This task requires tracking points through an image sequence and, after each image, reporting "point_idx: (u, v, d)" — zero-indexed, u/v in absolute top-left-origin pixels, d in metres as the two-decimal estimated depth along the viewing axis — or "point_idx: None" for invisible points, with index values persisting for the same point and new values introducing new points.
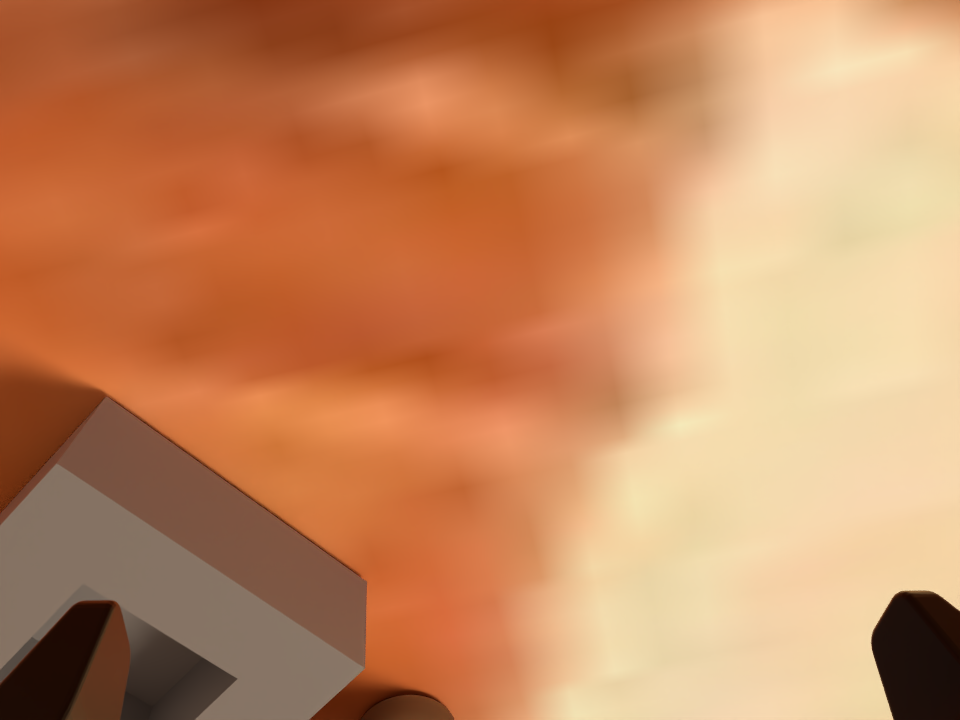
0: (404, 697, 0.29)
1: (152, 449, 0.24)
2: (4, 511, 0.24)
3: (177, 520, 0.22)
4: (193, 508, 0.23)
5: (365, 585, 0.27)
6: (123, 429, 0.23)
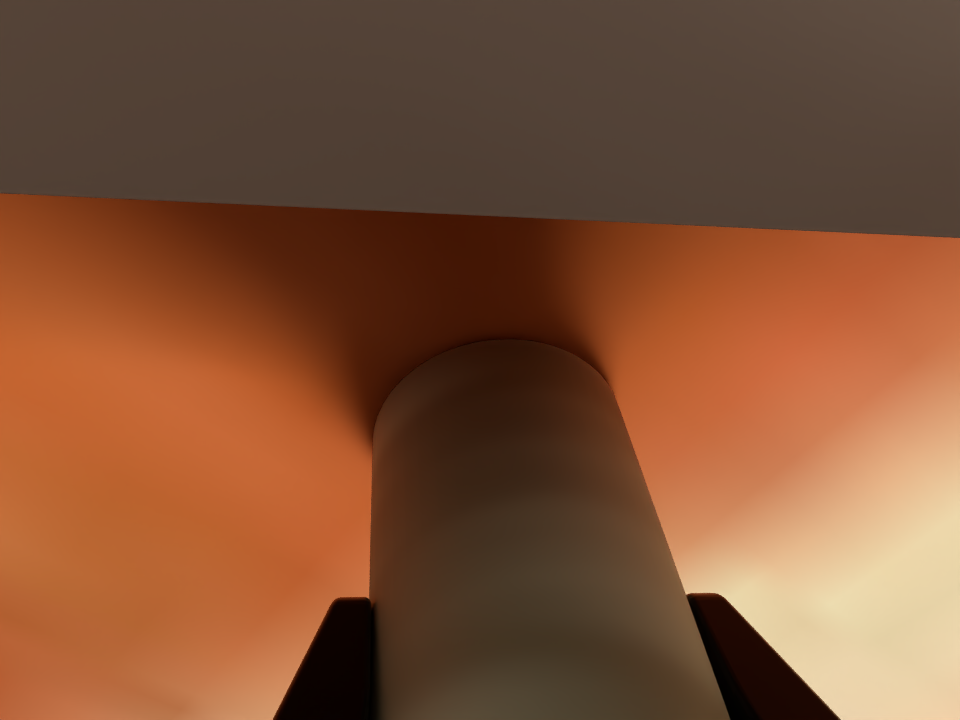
0: (592, 376, 0.11)
1: None
2: None
3: None
4: None
5: None
6: None
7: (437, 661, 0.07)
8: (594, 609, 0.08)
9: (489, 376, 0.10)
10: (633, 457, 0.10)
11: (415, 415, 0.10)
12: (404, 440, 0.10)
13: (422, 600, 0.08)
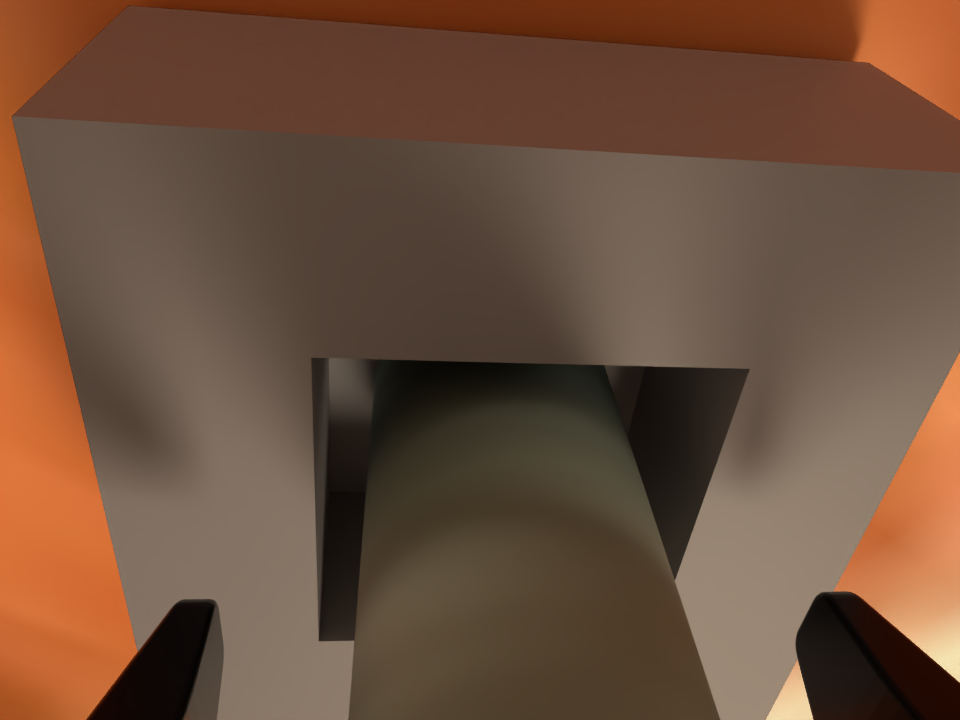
0: None
1: None
2: (592, 63, 0.10)
3: None
4: None
5: None
6: None
7: (418, 528, 0.08)
8: (557, 486, 0.09)
9: None
10: (607, 387, 0.11)
11: None
12: (400, 368, 0.11)
13: (407, 485, 0.09)
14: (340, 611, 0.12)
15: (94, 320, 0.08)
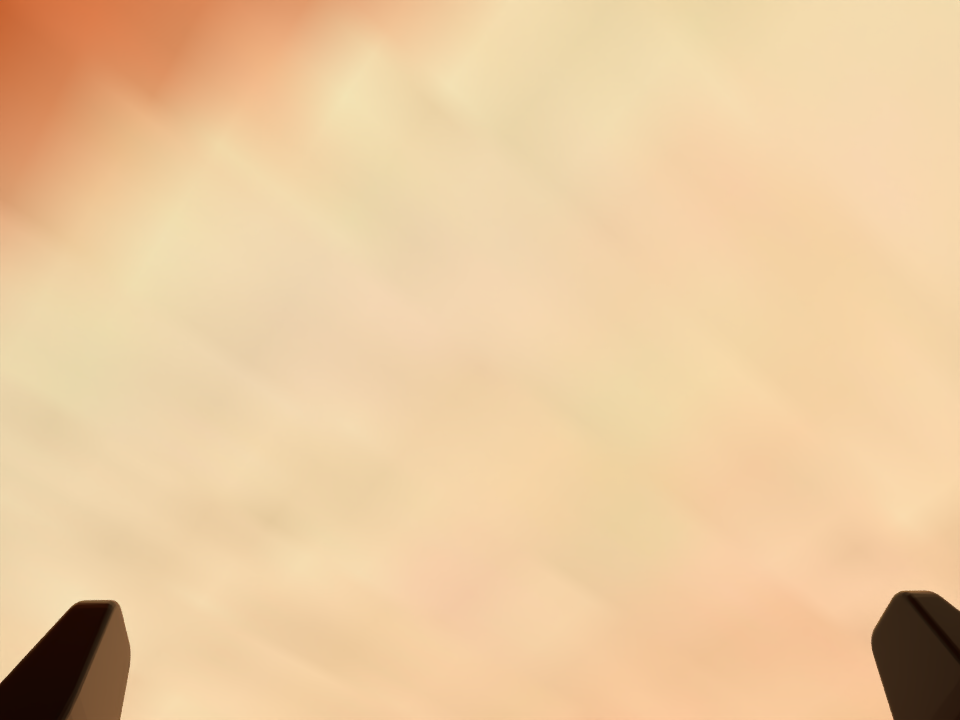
0: None
1: None
2: None
3: None
4: None
5: None
6: None
7: None
8: None
9: None
10: None
11: None
12: None
13: None
14: None
15: None
